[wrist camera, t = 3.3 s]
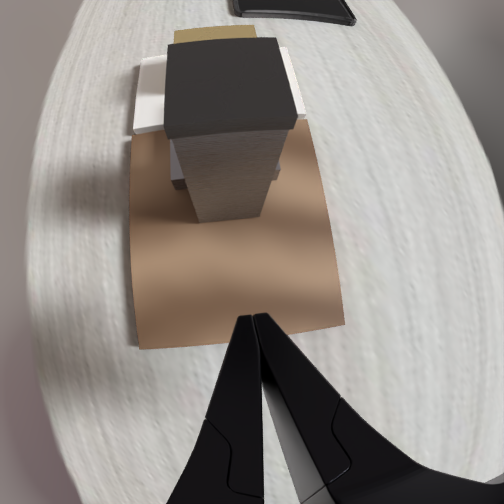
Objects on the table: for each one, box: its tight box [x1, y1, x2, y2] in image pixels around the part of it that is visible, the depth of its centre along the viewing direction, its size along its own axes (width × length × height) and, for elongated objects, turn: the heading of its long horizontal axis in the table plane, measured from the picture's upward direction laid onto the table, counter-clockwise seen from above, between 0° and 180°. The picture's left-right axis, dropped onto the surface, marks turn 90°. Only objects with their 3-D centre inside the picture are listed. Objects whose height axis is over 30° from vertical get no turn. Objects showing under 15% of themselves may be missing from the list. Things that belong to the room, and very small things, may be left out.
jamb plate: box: [133, 47, 306, 134], centre depth 23 cm, size 9×14×1 cm, turn 97°
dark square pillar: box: [164, 37, 298, 223], centre depth 15 cm, size 10×4×12 cm, turn 7°
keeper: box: [174, 25, 257, 44], centre depth 20 cm, size 4×6×4 cm, turn 97°
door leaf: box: [129, 119, 345, 350], centre depth 21 cm, size 16×14×1 cm
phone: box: [233, 0, 357, 26], centre depth 27 cm, size 8×1×15 cm
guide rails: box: [170, 139, 281, 190], centre depth 20 cm, size 5×7×2 cm
